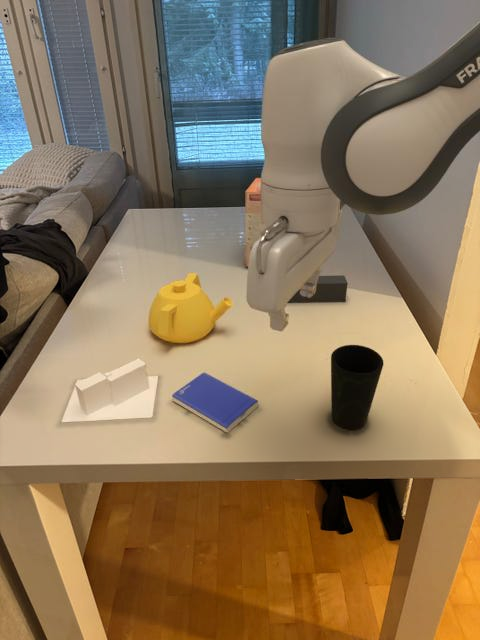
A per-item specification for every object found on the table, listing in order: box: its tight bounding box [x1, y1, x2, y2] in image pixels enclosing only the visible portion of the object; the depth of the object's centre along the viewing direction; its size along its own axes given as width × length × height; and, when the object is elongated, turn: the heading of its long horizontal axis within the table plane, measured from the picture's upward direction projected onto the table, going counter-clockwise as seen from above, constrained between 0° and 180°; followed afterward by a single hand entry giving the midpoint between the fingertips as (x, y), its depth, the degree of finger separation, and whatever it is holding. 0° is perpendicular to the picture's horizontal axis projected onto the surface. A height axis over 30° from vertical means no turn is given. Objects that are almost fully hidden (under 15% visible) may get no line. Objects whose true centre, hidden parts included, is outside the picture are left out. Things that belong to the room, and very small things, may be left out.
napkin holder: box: [61, 358, 159, 423], centre depth 80 cm, size 15×11×6 cm
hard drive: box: [171, 372, 259, 434], centre depth 79 cm, size 2×8×12 cm
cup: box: [330, 344, 384, 432], centre depth 73 cm, size 8×8×12 cm
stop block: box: [287, 275, 349, 304], centre depth 110 cm, size 14×4×5 cm, turn 90°
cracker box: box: [244, 177, 268, 268], centre depth 126 cm, size 14×6×21 cm, turn 167°
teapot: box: [148, 272, 234, 344], centre depth 97 cm, size 20×18×11 cm
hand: (294, 310), depth 60 cm, fingers open, 8 cm apart
